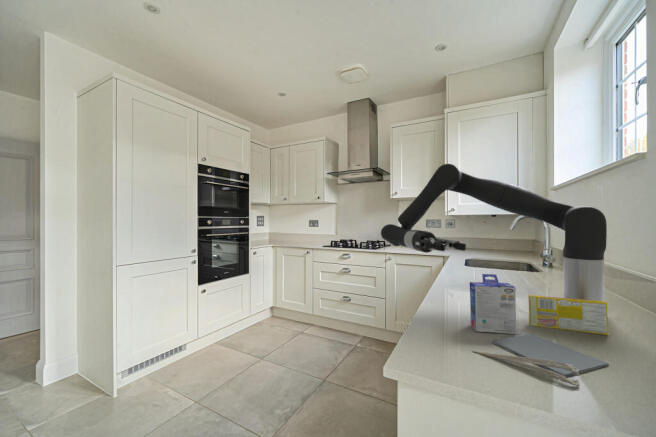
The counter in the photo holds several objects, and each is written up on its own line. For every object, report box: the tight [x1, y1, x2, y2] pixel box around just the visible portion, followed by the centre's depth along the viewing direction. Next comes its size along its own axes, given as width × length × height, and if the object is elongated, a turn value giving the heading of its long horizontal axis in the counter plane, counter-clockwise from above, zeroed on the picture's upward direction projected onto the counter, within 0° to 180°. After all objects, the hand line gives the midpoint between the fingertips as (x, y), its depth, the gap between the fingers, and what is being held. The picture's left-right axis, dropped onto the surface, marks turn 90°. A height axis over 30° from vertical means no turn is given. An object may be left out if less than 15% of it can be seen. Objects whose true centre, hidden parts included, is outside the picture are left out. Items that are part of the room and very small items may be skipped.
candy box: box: [528, 294, 610, 336], centre depth 72 cm, size 16×2×8 cm, turn 65°
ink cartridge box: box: [469, 273, 517, 335], centre depth 72 cm, size 10×6×14 cm, turn 78°
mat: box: [491, 332, 609, 378], centre depth 59 cm, size 13×15×1 cm
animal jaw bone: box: [471, 350, 580, 388], centre depth 54 cm, size 18×5×2 cm, turn 45°
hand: (454, 247), depth 84 cm, fingers open, 8 cm apart
